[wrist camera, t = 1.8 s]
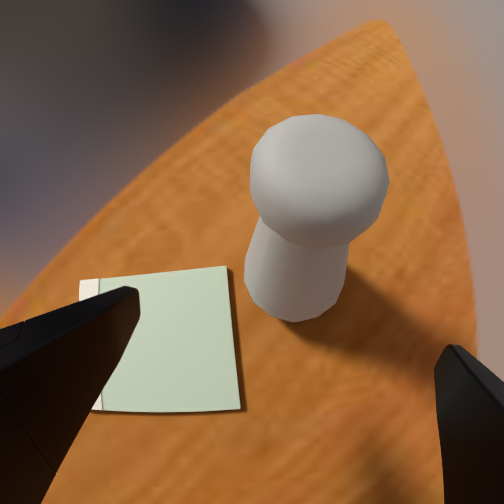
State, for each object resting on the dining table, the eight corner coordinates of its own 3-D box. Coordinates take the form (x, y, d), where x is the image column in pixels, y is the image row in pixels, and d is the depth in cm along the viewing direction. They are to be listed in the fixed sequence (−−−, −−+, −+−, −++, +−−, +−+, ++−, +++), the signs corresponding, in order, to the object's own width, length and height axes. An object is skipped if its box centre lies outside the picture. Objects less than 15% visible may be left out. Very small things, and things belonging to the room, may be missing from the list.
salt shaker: (343, 253, 21) (420, 114, 9) (325, 337, 19) (420, 273, 7) (258, 232, 22) (252, 74, 10) (234, 313, 20) (189, 216, 8)
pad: (240, 407, 18) (240, 409, 17) (85, 408, 18) (81, 408, 17) (226, 267, 21) (225, 264, 21) (83, 282, 21) (79, 280, 20)
